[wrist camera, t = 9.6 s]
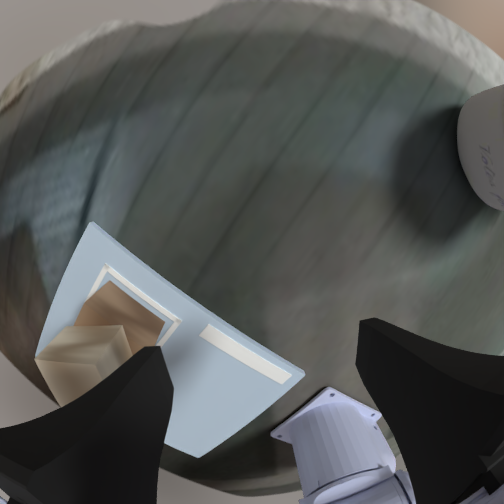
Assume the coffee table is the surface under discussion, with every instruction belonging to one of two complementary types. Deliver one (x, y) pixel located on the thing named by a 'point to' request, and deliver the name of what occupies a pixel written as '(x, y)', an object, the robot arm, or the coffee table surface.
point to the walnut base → (121, 316)
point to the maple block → (82, 359)
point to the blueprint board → (179, 345)
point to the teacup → (483, 144)
